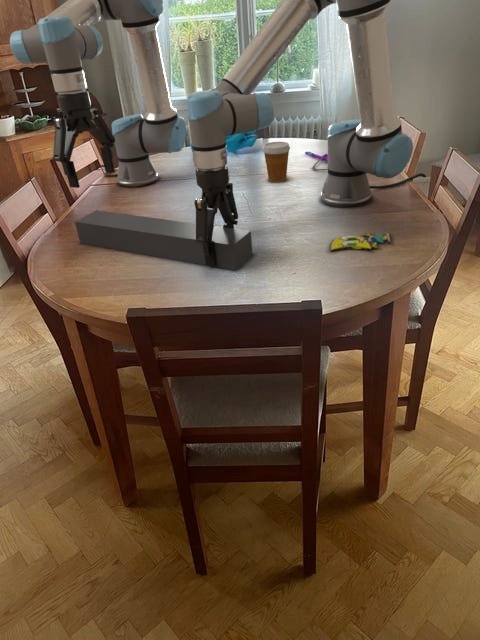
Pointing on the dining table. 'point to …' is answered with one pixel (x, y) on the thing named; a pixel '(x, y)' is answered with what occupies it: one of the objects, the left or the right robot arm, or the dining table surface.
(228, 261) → the thick board
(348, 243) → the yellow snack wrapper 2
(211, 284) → the dining table surface
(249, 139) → the toy
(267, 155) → the disposable coffee cup
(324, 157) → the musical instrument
